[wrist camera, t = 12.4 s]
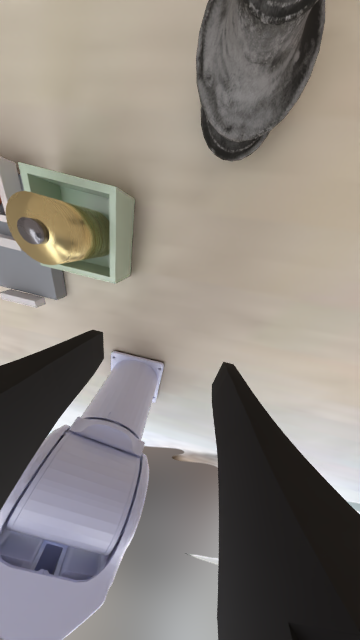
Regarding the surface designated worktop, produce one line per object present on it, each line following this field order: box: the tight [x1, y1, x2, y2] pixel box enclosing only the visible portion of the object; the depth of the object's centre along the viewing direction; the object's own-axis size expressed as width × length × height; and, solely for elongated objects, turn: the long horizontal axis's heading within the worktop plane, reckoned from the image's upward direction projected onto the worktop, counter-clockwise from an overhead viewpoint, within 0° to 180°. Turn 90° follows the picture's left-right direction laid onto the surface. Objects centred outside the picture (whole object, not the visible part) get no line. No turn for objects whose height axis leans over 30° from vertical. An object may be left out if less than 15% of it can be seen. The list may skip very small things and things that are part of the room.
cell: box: [6, 191, 110, 265], centre depth 12 cm, size 4×4×7 cm
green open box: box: [18, 162, 135, 284], centre depth 14 cm, size 7×7×4 cm
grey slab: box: [0, 156, 67, 308], centre depth 15 cm, size 13×7×3 cm, turn 168°
